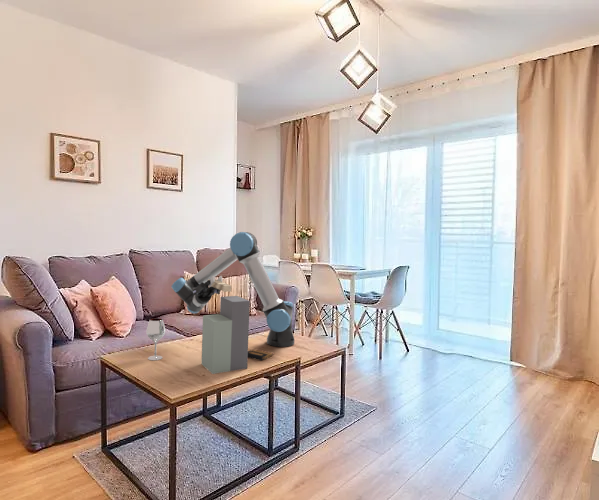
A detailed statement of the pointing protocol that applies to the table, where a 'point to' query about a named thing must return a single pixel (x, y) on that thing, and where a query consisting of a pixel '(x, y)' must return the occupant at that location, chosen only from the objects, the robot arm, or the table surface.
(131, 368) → the table surface
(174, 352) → the table surface
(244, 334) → the step stand
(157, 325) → the wineglass
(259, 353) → the ammunition clip
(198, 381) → the table surface
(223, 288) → the beech bar
